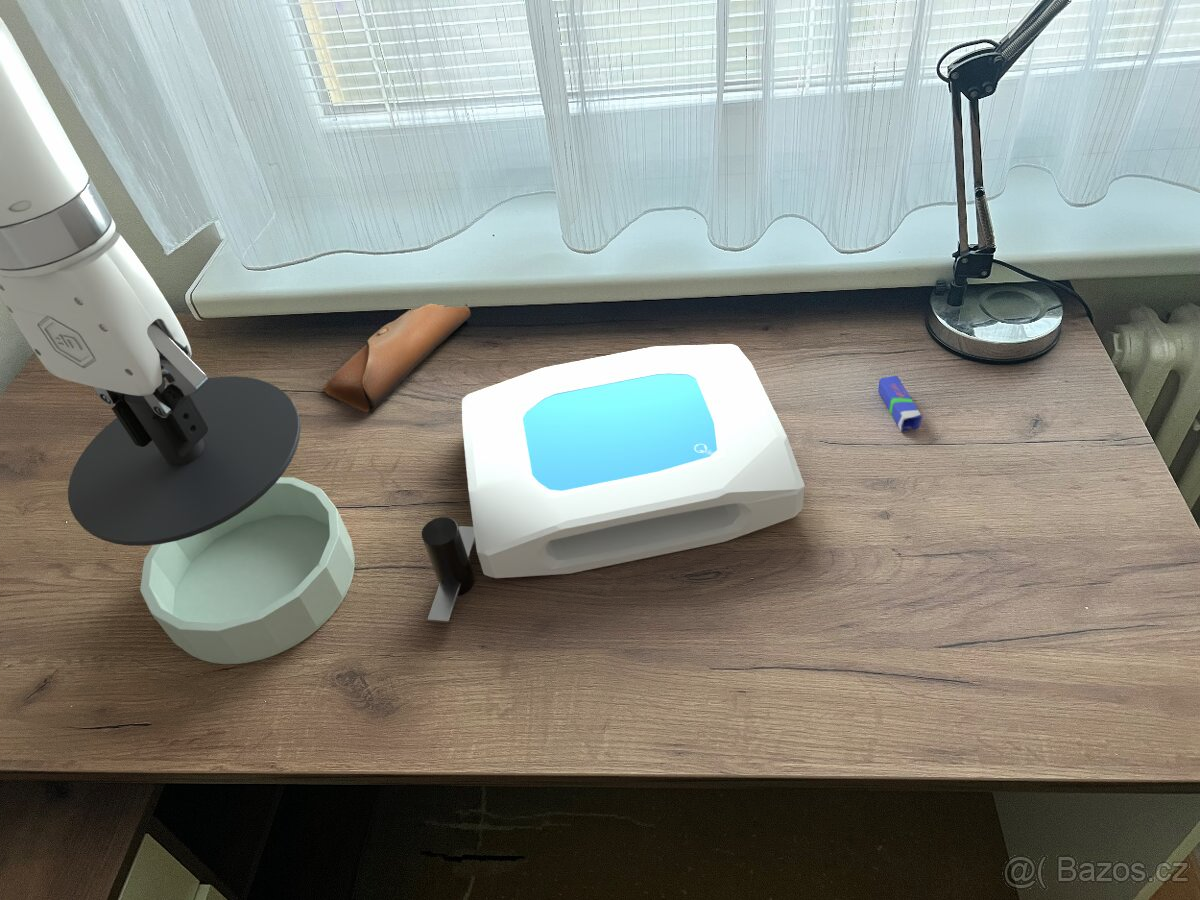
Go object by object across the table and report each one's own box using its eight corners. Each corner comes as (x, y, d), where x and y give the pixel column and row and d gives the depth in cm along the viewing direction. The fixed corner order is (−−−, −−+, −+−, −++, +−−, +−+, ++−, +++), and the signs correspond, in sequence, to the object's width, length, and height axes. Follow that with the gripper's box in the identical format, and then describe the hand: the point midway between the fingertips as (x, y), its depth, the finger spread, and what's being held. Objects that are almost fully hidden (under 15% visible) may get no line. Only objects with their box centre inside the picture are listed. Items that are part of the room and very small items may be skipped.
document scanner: (470, 429, 90) (458, 382, 86) (735, 377, 91) (735, 329, 87) (488, 591, 75) (473, 545, 71) (803, 526, 76) (808, 477, 72)
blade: (459, 632, 72) (440, 581, 67) (425, 630, 73) (403, 579, 68) (488, 538, 79) (472, 486, 74) (456, 537, 80) (438, 485, 75)
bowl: (205, 702, 70) (178, 668, 66) (143, 578, 80) (116, 543, 76) (387, 588, 76) (371, 552, 73) (308, 486, 86) (291, 450, 83)
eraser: (899, 433, 83) (902, 417, 82) (876, 393, 88) (879, 377, 86) (919, 430, 83) (922, 414, 82) (896, 390, 88) (898, 374, 86)
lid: (127, 593, 60) (67, 523, 54) (43, 469, 70) (-15, 399, 64) (345, 452, 67) (311, 378, 62) (241, 358, 77) (204, 287, 72)
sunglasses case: (416, 302, 106) (427, 267, 101) (462, 337, 106) (476, 304, 101) (316, 392, 96) (323, 359, 90) (368, 431, 96) (377, 400, 91)
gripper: (-102, 240, 54) (58, 451, 67) (94, 274, 48) (226, 497, 61) (-4, 181, 59) (128, 389, 71) (185, 206, 53) (290, 426, 66)
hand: (172, 437), depth 66 cm, fingers closed on lid, 3 cm apart
